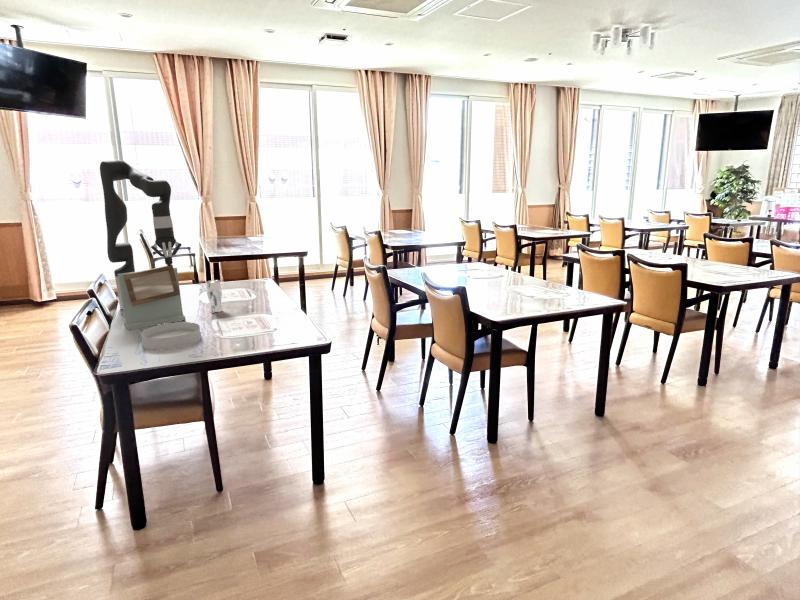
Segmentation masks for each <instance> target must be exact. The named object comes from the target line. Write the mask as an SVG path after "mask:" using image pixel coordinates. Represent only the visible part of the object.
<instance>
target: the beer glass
mask: <svg viewBox="0 0 800 600" xmlns="http://www.w3.org/2000/svg"><path fill="white" fill-rule="evenodd" d="M205 288H206V289H205V290H206V295H207V299H208V302H209V312H210V313H212V314H216V313H215V312H218V313H221V311H222V312H223V311H224V309H223V306H222V297H223V292H222V283H221V280H219V279H213V280H208V281H207V280H206V281H205Z"/></svg>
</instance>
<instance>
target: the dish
mask: <svg viewBox="0 0 800 600" xmlns="http://www.w3.org/2000/svg"><path fill="white" fill-rule="evenodd" d="M140 336H141V346H142V348H144V349H146V348H147V349H146V350H150V349H168V350H174V348H176V349H180V348H184V347H188V346H191V345H193V343H194V344H196V343H198V342H199V341H201V339H202V332H201V328H200V324H198V323H195V322H190V321H189V322H186V321H180V322H174V323H168V324H162V325H156V326H150V327H147V328H146V329H144V330H143V331H142V332H141V334H140ZM197 341H198V342H197Z"/></svg>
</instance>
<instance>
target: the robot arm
mask: <svg viewBox="0 0 800 600" xmlns="http://www.w3.org/2000/svg"><path fill="white" fill-rule="evenodd" d="M99 164H100V165H99V174H100V178H101V179H100V180H101V185H102V191H103V201H104V216H105V217H104V218H105V225H106V233H107V234H106V237H107V238H106V240H107V242H106V243H107V247H106V248H107V249H106V252H107V257H108V261H110V263H115V264H116V263H124V264H123V265H122V266H120V267H118V268H116V269H115V270H114V272H113V273H114V279H115V284H116V285H115V286H116V291H117V298H118V303H119V304H118V305H119V309H120V310H121V309H123V305H122V299H121V292H120V286H119V280H118V274H121V273H130V272H136V270H135V262H134V250H133V246H132V245H131V244H130V243H129V242H122V243H121V242H120V243H119V242H118V243H117V240H118V237H119V234H120V233H121V231H122V230H123V229H124V227H125V226H126V224H127V223H128V209H127V206H126V203H125V202H124V201H123V200H122V198H121V197H120V196H119V194H118V193H117V192H116V189H115V185H114V182H115V181H116V182H117V181H123V180H129V182H130V185H132V186H133V187H134V188H136V189H137V190H140V191H142V192H143V194H145V195H146V196H147V197H149V198H159V200H158V201H157V202H154V203H152V204H151V211H152V217H153V219H152V220H153V229H154V235H155V241H154V244H153V245H151V246H150V248H151V249H152V250H153V251H154V252H155V254H157V255H158V256H160V257H162V258H164V262H165V263H164V264H165V266H167V265H168V266H169V265H173V257H174V256H176V254H177V253H178V251H179V249H181V247H182V243H180V242H178V241H177V239H176V238H175V234H174V233H175V232H174V226H173V220H172V218H171V217H172V216H171V211H170V209H171V208H170V204H171V203H170V202H171V197H172V196H171V195H172V187H171V185H170V183H169V182H168V181H167V180H163V179H160V180H159V179H158V180H155V179H154V178H152V177H151V176H149V175H147V174H145V173H143V172H141V171H138V170H137V169H136V168H134V167H133V166H131V165H130V164H129V163H128V162H126V161H124V160H123V159H111V160H110V159H109V160H102V161H101V162H100V163H99ZM174 246H175V248H174ZM158 248H159V249H160V250H161V251H162V252H161V251H160V250H158ZM173 248H174V249H173ZM172 249H173V250H172Z"/></svg>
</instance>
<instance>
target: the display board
mask: <svg viewBox="0 0 800 600" xmlns="http://www.w3.org/2000/svg"><path fill="white" fill-rule="evenodd" d="M173 269H174V273H175V276H176V280H177V284H178V288H179V292H180V293H181V290H180V282H179V281H180V280H179V275H178V274H179V273H178V267H175V266H174V267H173ZM140 271H141V270H140ZM140 271H138V272H140ZM135 272H136V271H135ZM135 272H130V273H135ZM130 273H121V274H118V280H119V286H120V292H121V299H122V305H123V310H122V311H123V315H124V316H123V318H124V319H123V321H124V326H125V325H126V326H125V328H126V330H127V331H131V330H136V328H137V329H142V328H141V327H144V328H148V327H147V326H150V327H154V325H156V326H158V324H162V325H163V324H164V323H171V322H174V323H177V322H176V321H180V322H183V321H182V320H186V315H185V314H184V312H183V305H182V298H181V294H180V295H177V296H173V297H169V298H165V299H161V300H157V301H153V302H149V303H145V304H140V305H136V306H132V303H131V300H130V296H129V293H128V289H127V286H126V282H125V279H124V275H126V274H130ZM186 321H187V320H186Z"/></svg>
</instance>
